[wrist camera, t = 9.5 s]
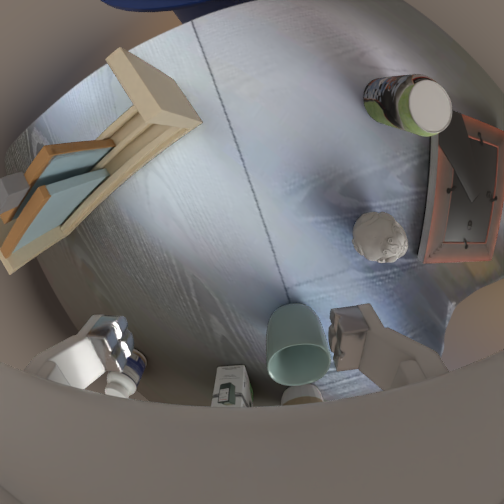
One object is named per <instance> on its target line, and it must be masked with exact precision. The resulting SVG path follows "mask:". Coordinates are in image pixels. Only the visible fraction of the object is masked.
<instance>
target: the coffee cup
mask: <svg viewBox="0 0 504 504" xmlns="http://www.w3.org/2000/svg"><path fill="white" fill-rule="evenodd" d="M316 402H324V401H323V398H322V395H321V393H320V391H319V390H318V388H317V387H316V386H314V385H312V384H306V385H300V386H291V387H289V388H287V389H286V390H285V391H284V393H283V396H282V399H281V406H284V405H297V404H307V403H316Z"/></svg>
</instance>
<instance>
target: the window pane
mask: <svg viewBox="0 0 504 504" xmlns="http://www.w3.org/2000/svg"><path fill="white" fill-rule="evenodd" d="M115 147H116V145H115V143H114V142H113V140H112V139H106V140H92V141H81V142H71V143H62V144H54V145H46V146H44V147H43V148H42V149H41V151H40V152H39V153H38V155H37V156H36V157H35V159H34V160H33V162H32V163H31V165H30V166H29V168H28V169H27V171H26V172H25V174H23V172H18V173H15V174H12V175H8V176H5V177H2V178H0V214H1V215H0V217H1V219H2V221H3V223H4V224H6V223H8V222H10V221H12V220H14V219H16V218H18V217H19V215H20V213H21V212H22V210H23V209H24V207H25V206H26V204H27V203H28V201H29V200H30V198H31V197H32V195H33V194H34V192H35V191H36V190H37V188H38V187H40V186H43V185H45V186H46V185H49V184H52V183H55V182H58V181H61V180H65V179H68V178H71V177H75V176H78V175H82V174H85V173H89V172H90V171H91V170H92V169H93V168H94V167H95V166H96V165H97V164H98V163H99V162H100V161H101V160H102V159H103V158H104V157H105V156H106V155H107V154H108V153H109V152H110V151H111V150H112V149H114V148H115Z"/></svg>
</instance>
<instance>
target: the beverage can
mask: <svg viewBox="0 0 504 504" xmlns="http://www.w3.org/2000/svg"><path fill="white" fill-rule="evenodd" d="M363 101H364V106H365V108H366V110H367V112H368V114H369V115H370V116H371V117H372V118H373V119H374V120H375V121H377V122H379V123H381V124H385V125H388V126H392V127H395V128H398V129H402V130H405V131H408V132H411V133H414V134H417V135H420V136H425V137H428V136H433V135H436V134H438V133H439V132H441V131H443V130H445V129H446V128H447V126H448V125H449V123H450V121H451V118H452V104H451V100H450V98H449V96H448V94H447V92H446V91H445V89H444V88H443V87H442V86H441V85H439V84H438V83H437V82H436V81H434V80H433V79H432V78H430V77H428V76H425V75H421V74H413V75H402V76H392V77H384V78H378V79H374V80H372V81H371V82H370V83H369V84H368V85H367V86H366V88H365V91H364V95H363Z"/></svg>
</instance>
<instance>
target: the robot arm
mask: <svg viewBox="0 0 504 504" xmlns="http://www.w3.org/2000/svg"><path fill="white" fill-rule="evenodd" d="M330 320H331V323H332V324H331V325H330V327H329V333H328V337H329V346H330V350H331V351H332V352H333V353H334V357H333V360H334V363H335V367H336V370H337V371H345V370H353V369H359V370H360V371H361V372H362V373H363V374H364V375H366V376H367V377H368V378H369V379H370V380H372V381H373V382H374V383H375V384H376V385H378V386H379V387H380V388H381V389H382V390H384V391H380V392H376V393H371V394H366V395H361V396H355V397H350V398H344V399H338V400H331V401H324V402H316V403H307V404H297V405H284V406H267V407H206V406H188V405H176V404H165V403H156V402H148V401H141V400H134V399H128V398H122V397H117V396H112V395H106V394H101V393H96V392H92V391H88V390H84V389H85V388H86V387H87V386H88V385H90V384H91V383H92V382H93V381H94V380H96V379H97V378H98V377H99V376H101V375H102V374H103V373H104V372H105V371H113V372H122V371H123V369H124V367H125V365H126V363H127V359H126V358H127V357H128V356H130V355H131V354H132V352H133V349H134V339H133V336H132V333H131V332H130V331H129V330H128V329H127V327H128V323H127V321H126V318H125V317H123V316H112V315H92V317H91V318H90V319H89V320H88V321H87V323H86V324H85V325H84V326H83V328H82V329H81V330H80V331H79V333H78V334H77V335H76V336H75V335H73V336H71V337H70V338H68V339H66V340H64V341H62V342H60V343H58V344H56V345H54V346H53V347H51V348H49V349H47V350H45V351H43V352H41V353H39V354H38V355H36V356H35V357H34V358H33V359H32V360H31V362H30V363H29V364H28V366H27V367H26V368H25V369H24V371H22V370H19V369H17V368H14V367H12V366H9V365H7V364H5V363H2V362H0V504H504V349H503V350H501V351H499V352H496V353H494V354H492V355H490V356H488V357H485V358H483V359H481V360H478V361H476V362H474V363H471V364H469V365H466V366H463V367H461V368H458V369H456V370H453V371H450V372H449V371H448V369H447V367H446V366H445V364H444V363H443V361H442V360H441V358H440V356H439V355H438V353H437V352H436V351H434V350H432V349H430V348H428V347H426V346H424V345H422V344H420V343H418V342H416V341H414V340H412V339H410V338H408V337H406V336H404V335H402V334H400V333H398V332H396V331H394V330H392V329H390V328H384V326H383V324H382V323H381V321H380V319H379V318H378V316H377V314H376V313H375V311H374V309H373V308H372V306H371V304H369V303H368V304H361V305H356V306H350V307H342V308H333V309H331V311H330Z"/></svg>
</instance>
